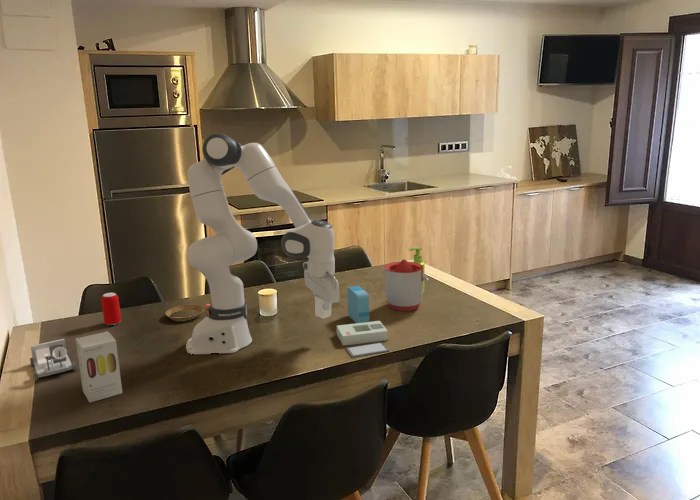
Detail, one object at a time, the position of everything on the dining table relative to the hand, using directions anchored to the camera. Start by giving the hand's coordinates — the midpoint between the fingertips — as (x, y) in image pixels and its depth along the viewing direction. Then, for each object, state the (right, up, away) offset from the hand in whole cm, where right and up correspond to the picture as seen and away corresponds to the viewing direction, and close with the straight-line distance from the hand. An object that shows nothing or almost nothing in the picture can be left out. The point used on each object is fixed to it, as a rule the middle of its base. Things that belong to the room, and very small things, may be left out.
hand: (321, 306), depth 196 cm
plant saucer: (-56, -7, +31) cm, 64 cm away
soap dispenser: (+39, +1, +51) cm, 64 cm away
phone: (+16, -15, -5) cm, 22 cm away
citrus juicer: (+33, -4, +34) cm, 47 cm away
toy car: (-86, -19, -13) cm, 89 cm away
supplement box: (-63, -22, -29) cm, 73 cm away
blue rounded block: (+13, -7, +22) cm, 26 cm away
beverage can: (-82, -9, +25) cm, 86 cm away
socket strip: (+14, -11, +5) cm, 19 cm away
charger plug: (0, -3, +1) cm, 4 cm away
